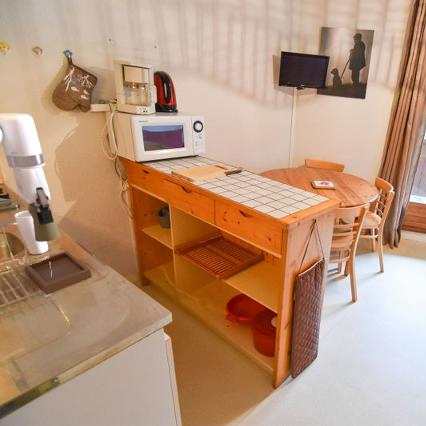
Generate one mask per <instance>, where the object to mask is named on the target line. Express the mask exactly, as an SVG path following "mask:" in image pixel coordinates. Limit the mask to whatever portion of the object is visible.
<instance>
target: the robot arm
mask: <svg viewBox="0 0 426 426" xmlns="http://www.w3.org/2000/svg"><path fill="white" fill-rule="evenodd" d="M0 143H1V146H2V149H3V153H4V155H5V160H6V162H7V165H8V168H9V169H12V171H13V176H14V181H15V185H16V190H17V193H18V196H19V197H20V198H21V199H22V200H23V201H25V202H27V204H28V207H29V206H30V205H31V204H35V206H36V209H37V212H36V214H37V217H38V220H39V224H40V225H44V224H48V223H52V222H54V221H55V219H54V217H53V213H52V211H51V210H50V207H49V204H50V203H49V201H50V200H51V194H50V190H49V185H48V182H47V179H46V176H45V173H44V170H43V166H45V165H46V162H45V159H44V155H43V151H42V147H41V143H40V140H39V137H38V132H37V128H36V125H35V122H34V118H33V117H32V116H31V115H30V114H27V113H21V112H4V113H0ZM38 203H41V205H40V206H39V205H38ZM32 218H33V216H32ZM53 219H54V220H53Z"/></svg>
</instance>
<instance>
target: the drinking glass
mask: <svg viewBox="0 0 426 426" xmlns="http://www.w3.org/2000/svg"><path fill="white" fill-rule="evenodd" d="M14 219H15V222H16V226H17V228H18V231H19V232H20V236H21V237H22V239H23V241H24V243H25V246H26V249H27V250H28V253H29V254H30V255H33V256H34V255H35V256H37V255H41V254H44V253H46V252H47V251H48V250H49V246H48V241H47V242H38V241H36V240H35V232H34V223H33V218H32V215H31V214H30V213H29V211H28V210H23V211H20V212H17V213H15V214H14Z"/></svg>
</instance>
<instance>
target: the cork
mask: <svg viewBox="0 0 426 426" xmlns="http://www.w3.org/2000/svg"><path fill="white" fill-rule="evenodd" d="M38 205H39V206H40V205H41V203H38ZM49 207H50V210H51V212H53V208H52V205H51V204H50V203H49ZM27 211H29V213H30V214H31V215H32V216H33V223H34V232H35V240H36V241H38V242H47V243H48V242H51V241H52V242H53V241H54V240H57V239H59V238H60V237H62V236H61V232H60V229H59V228H58V225H57V223H56V220H55V219H54V218H53V220H54V222H52V223H48V224H44V225H40V224H39V220H38V217H37V214H36V212H37V209H36V206H35V204H31V205H30V206H29V205H28V209H27Z"/></svg>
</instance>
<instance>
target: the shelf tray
mask: <svg viewBox="0 0 426 426" xmlns="http://www.w3.org/2000/svg"><path fill="white" fill-rule="evenodd" d="M49 256H50V258H49V259H46V260H43V261H41V262H39V263H35V264H32V265H28V266H25V267H24V266H23V268H24V271H25V273H26V274H27V275H28V276H29V277H30V278H31V280H32V281H34V283H35V284H36V285H37V286H38V287H39V288H40V289H41V290H42V291H43V290H44V291H43V292H44V293H45V294H46V295H50V294H52V293H54V292H56V291H59V290H62V289H64V288H67V287H70V286H73V285H75V284H77V283H81V282H83V281H85V280H88V279H91V278H93V276H92V271H91V269H90V268H89V267H88V266H87V265H86V264H84V263H83V262H82V261H81V260H79V258H77V257H75V255H73V254H72V253H71V252H70V251H68V250H64V251H61V252H58V253H53V254H51V255H49ZM49 261H50V262H51V269H50V265H49ZM51 270H52V277H51Z"/></svg>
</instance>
